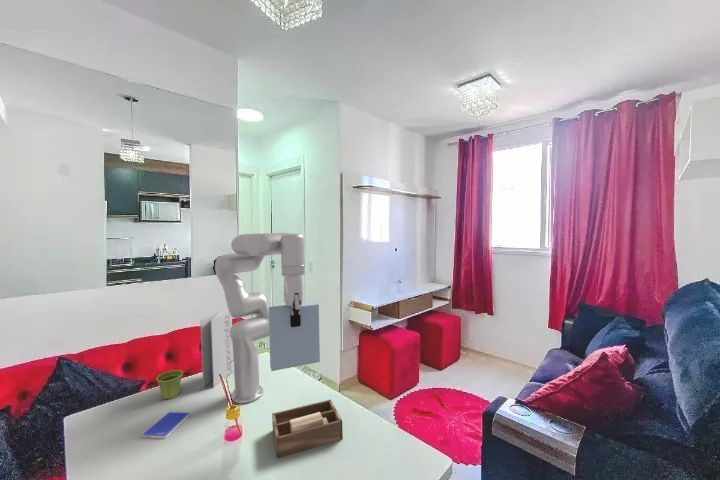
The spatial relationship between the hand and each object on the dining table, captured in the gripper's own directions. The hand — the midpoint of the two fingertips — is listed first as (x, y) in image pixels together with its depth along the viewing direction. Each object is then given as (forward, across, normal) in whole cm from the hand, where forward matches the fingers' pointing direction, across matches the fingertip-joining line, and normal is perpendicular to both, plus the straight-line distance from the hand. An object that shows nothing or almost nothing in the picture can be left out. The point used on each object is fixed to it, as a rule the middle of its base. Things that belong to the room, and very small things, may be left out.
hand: (294, 323), depth 100 cm
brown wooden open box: (+37, +4, +3) cm, 37 cm away
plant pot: (+38, -44, -45) cm, 73 cm away
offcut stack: (+37, +7, +2) cm, 38 cm away
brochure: (+38, -50, -27) cm, 68 cm away
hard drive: (+38, -22, -42) cm, 61 cm away
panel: (+14, 0, 0) cm, 14 cm away
